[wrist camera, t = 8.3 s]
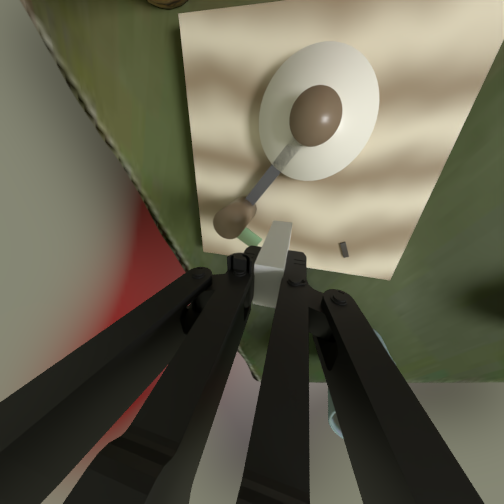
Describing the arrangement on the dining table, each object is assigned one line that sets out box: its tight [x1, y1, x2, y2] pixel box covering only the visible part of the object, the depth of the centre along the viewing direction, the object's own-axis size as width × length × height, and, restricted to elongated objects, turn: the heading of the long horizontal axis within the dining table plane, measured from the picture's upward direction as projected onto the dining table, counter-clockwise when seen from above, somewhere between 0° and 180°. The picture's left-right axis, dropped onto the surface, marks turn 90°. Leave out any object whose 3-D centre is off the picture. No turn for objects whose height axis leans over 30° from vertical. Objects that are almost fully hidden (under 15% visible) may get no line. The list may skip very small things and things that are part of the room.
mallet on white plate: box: [213, 41, 379, 239], centre depth 17 cm, size 18×10×6 cm, turn 141°
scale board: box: [179, 0, 504, 280], centre depth 21 cm, size 24×25×2 cm
